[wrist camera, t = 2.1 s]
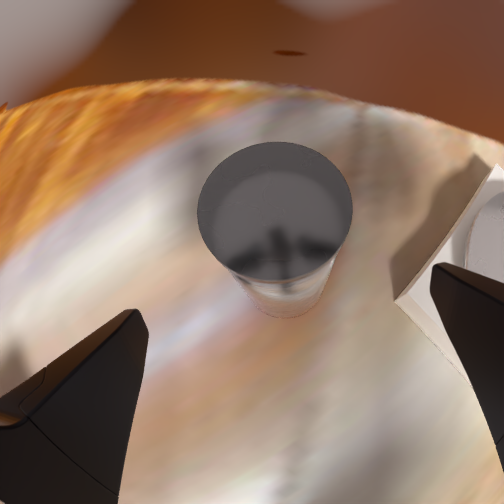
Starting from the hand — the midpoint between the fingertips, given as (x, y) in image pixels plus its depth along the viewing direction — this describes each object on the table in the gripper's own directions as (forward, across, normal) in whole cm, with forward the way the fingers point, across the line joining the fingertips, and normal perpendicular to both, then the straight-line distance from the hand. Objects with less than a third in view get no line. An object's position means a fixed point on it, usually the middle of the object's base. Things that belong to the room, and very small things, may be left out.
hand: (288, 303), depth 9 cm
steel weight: (+10, 0, +5) cm, 11 cm away
